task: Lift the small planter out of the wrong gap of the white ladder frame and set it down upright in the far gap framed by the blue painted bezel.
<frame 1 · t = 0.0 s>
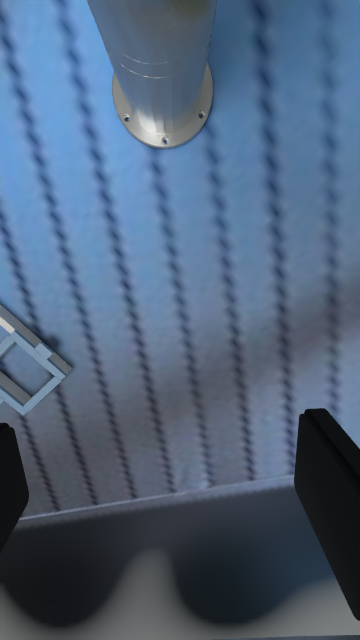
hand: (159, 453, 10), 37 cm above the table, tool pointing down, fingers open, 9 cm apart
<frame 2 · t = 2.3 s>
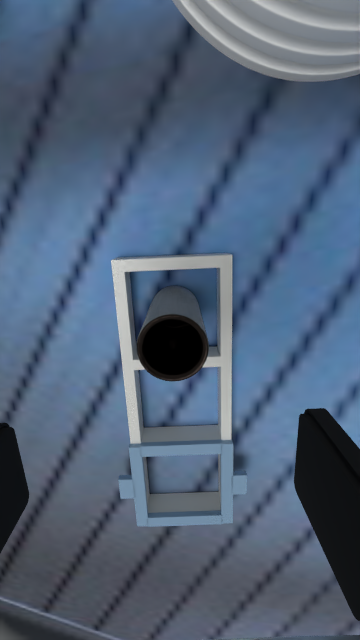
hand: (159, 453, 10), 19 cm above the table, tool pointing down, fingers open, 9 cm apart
white ladder frame: (179, 393, 31), on the table
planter: (174, 308, 29), resting in white ladder frame
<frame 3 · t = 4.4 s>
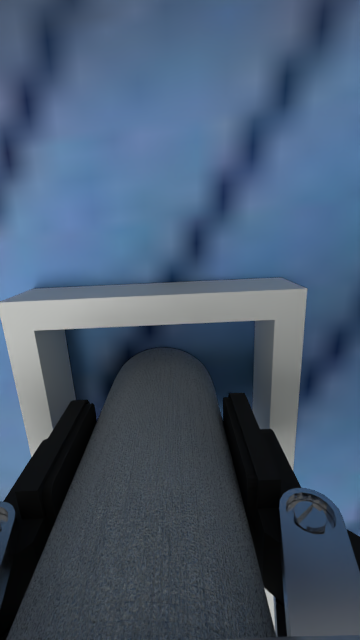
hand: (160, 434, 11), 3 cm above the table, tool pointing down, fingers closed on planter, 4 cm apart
white ladder frame: (174, 542, 16), on the table
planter: (164, 390, 14), resting in white ladder frame, touching gripper
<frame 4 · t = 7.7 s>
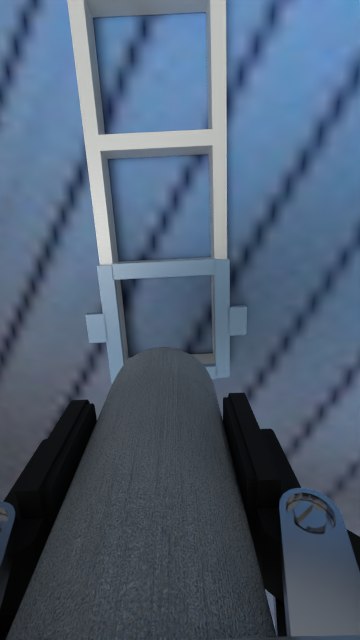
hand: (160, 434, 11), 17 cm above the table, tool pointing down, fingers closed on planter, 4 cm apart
white ladder frame: (161, 210, 25), on the table
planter: (164, 390, 14), point 14 cm above the table, touching gripper
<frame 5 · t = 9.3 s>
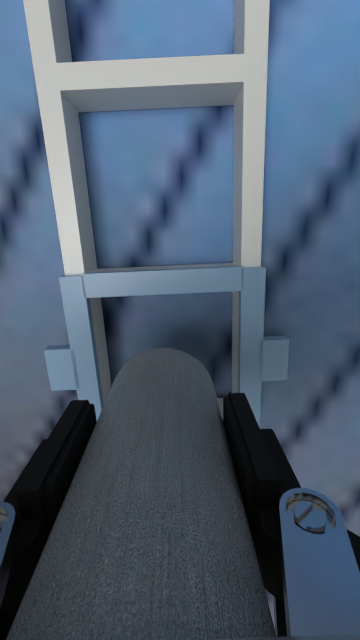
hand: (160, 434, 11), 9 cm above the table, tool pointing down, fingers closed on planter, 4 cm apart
white ladder frame: (160, 192, 16), on the table
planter: (164, 390, 14), point 6 cm above the table, touching gripper
when the fingers open (4 cm above the table, at t = 10.9 s): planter drops 1 cm, resting in white ladder frame.
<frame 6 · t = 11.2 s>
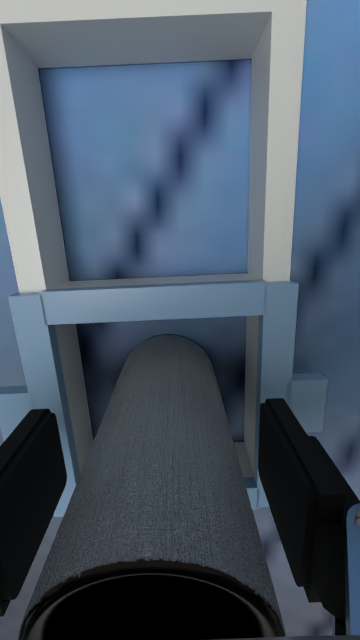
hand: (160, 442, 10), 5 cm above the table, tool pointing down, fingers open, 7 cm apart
white ladder frame: (152, 180, 12), on the table
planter: (168, 374, 15), resting in white ladder frame
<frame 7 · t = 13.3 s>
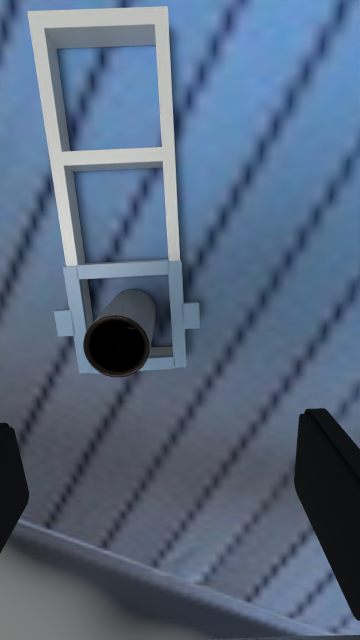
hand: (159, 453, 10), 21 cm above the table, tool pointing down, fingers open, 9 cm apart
white ladder frame: (123, 217, 28), on the table
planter: (134, 310, 30), resting in white ladder frame
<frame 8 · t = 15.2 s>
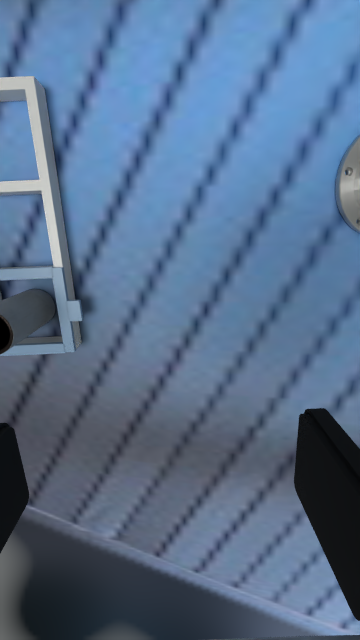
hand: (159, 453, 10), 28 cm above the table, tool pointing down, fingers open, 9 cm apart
white ladder frame: (22, 231, 35), on the table
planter: (38, 306, 37), resting in white ladder frame
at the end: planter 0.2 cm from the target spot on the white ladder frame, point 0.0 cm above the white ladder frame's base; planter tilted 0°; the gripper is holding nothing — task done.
